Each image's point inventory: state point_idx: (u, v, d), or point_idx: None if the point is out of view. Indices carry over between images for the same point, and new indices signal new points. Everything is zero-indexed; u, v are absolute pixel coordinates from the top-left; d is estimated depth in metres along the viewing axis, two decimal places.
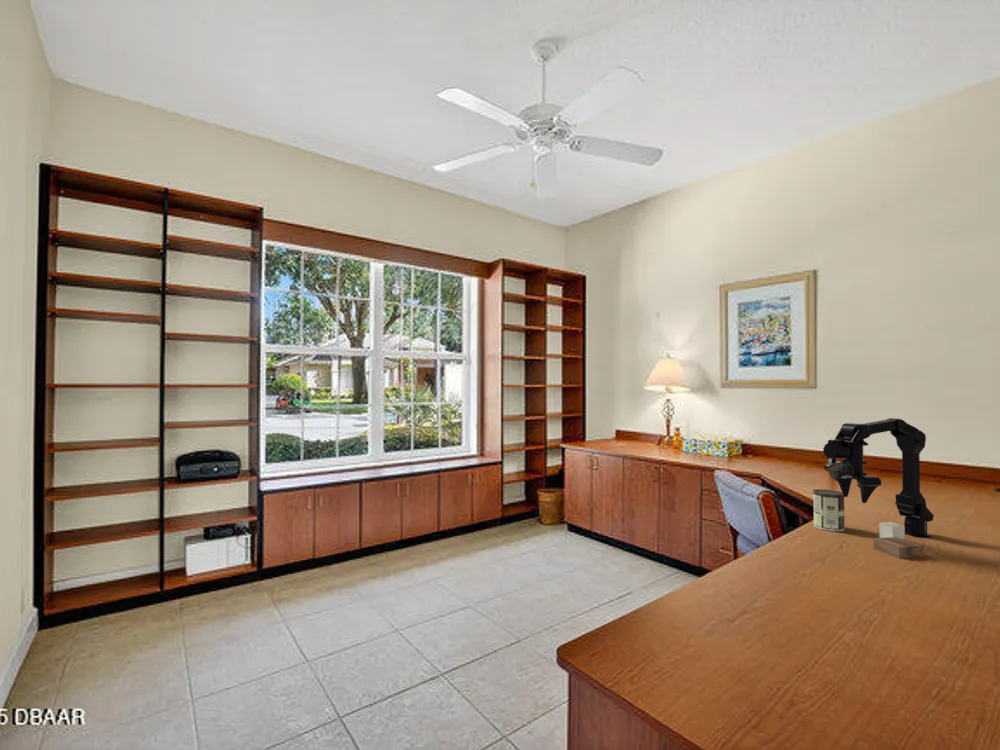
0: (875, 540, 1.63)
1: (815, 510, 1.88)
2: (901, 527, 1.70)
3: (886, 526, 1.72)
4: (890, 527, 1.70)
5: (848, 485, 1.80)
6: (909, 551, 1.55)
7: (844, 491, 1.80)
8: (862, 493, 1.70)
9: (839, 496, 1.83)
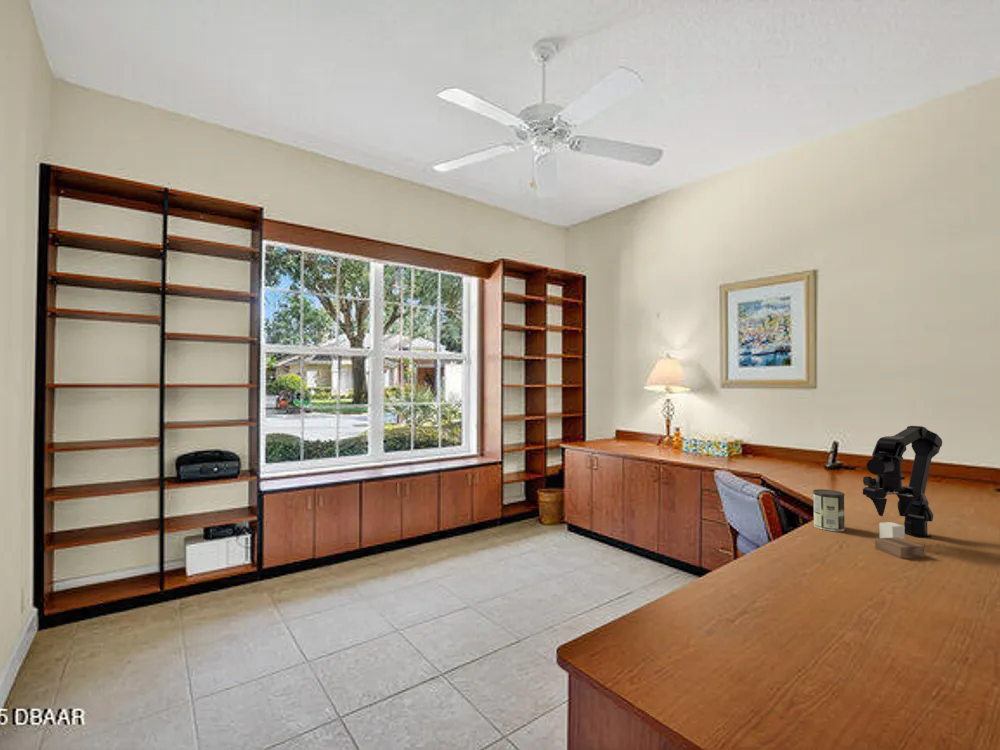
0: (876, 540, 1.63)
1: (815, 510, 1.88)
2: (901, 527, 1.70)
3: (886, 526, 1.72)
4: (890, 527, 1.70)
5: (906, 504, 1.72)
6: (911, 551, 1.55)
7: (901, 508, 1.73)
8: None
9: (839, 496, 1.83)
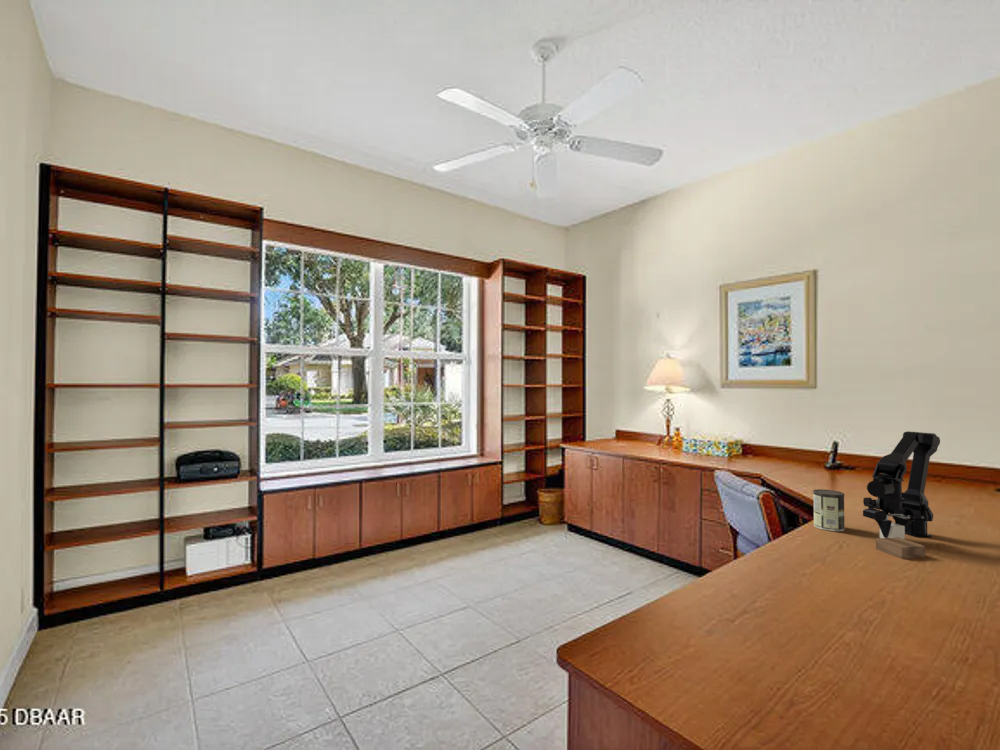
0: (877, 540, 1.63)
1: (815, 510, 1.88)
2: (901, 527, 1.70)
3: None
4: (890, 527, 1.70)
5: None
6: (912, 551, 1.55)
7: None
8: None
9: (839, 496, 1.83)
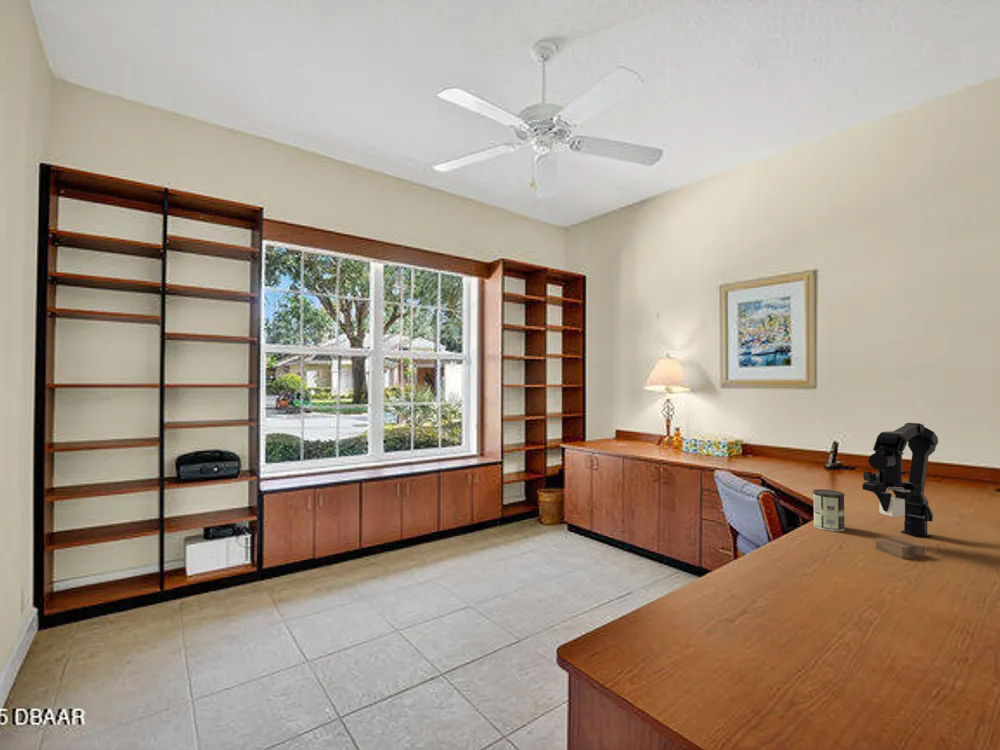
0: (877, 540, 1.62)
1: (815, 510, 1.88)
2: (901, 500, 1.68)
3: None
4: (890, 500, 1.68)
5: None
6: (912, 551, 1.55)
7: None
8: None
9: (839, 496, 1.83)
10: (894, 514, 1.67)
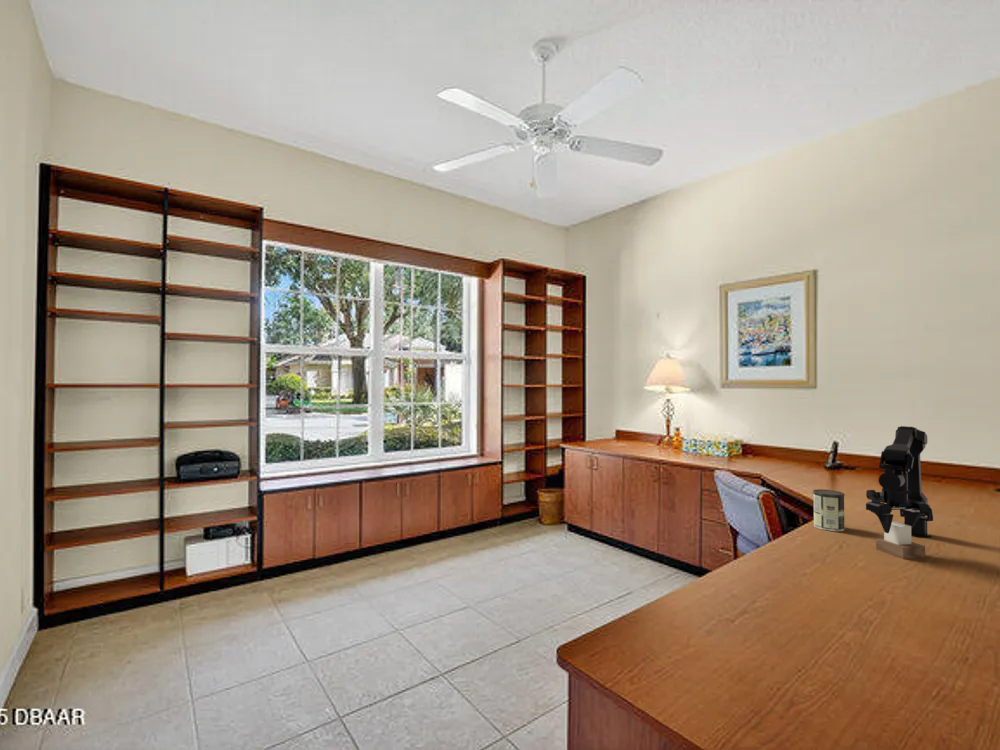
0: (877, 541, 1.62)
1: (815, 510, 1.88)
2: (907, 527, 1.58)
3: (891, 526, 1.59)
4: (896, 527, 1.58)
5: (911, 520, 1.59)
6: (913, 552, 1.55)
7: None
8: None
9: (839, 496, 1.83)
10: (900, 542, 1.57)
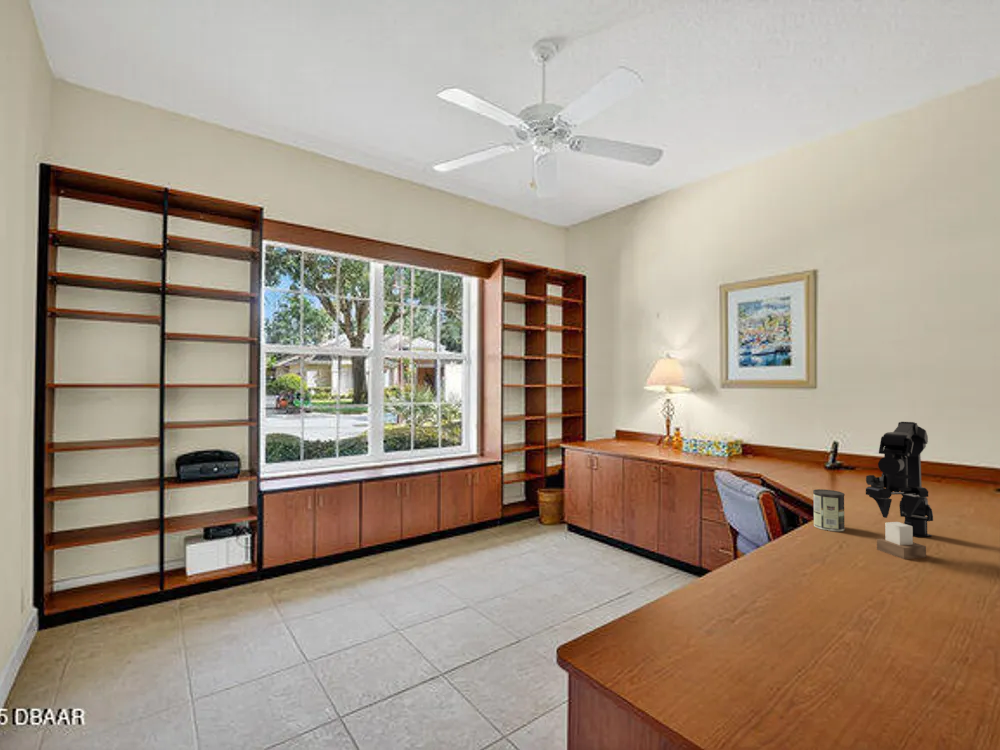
0: (878, 541, 1.62)
1: (815, 510, 1.88)
2: (909, 527, 1.57)
3: (893, 526, 1.59)
4: (897, 527, 1.57)
5: (912, 505, 1.60)
6: (913, 552, 1.55)
7: (906, 510, 1.61)
8: None
9: (839, 496, 1.83)
10: (901, 542, 1.57)
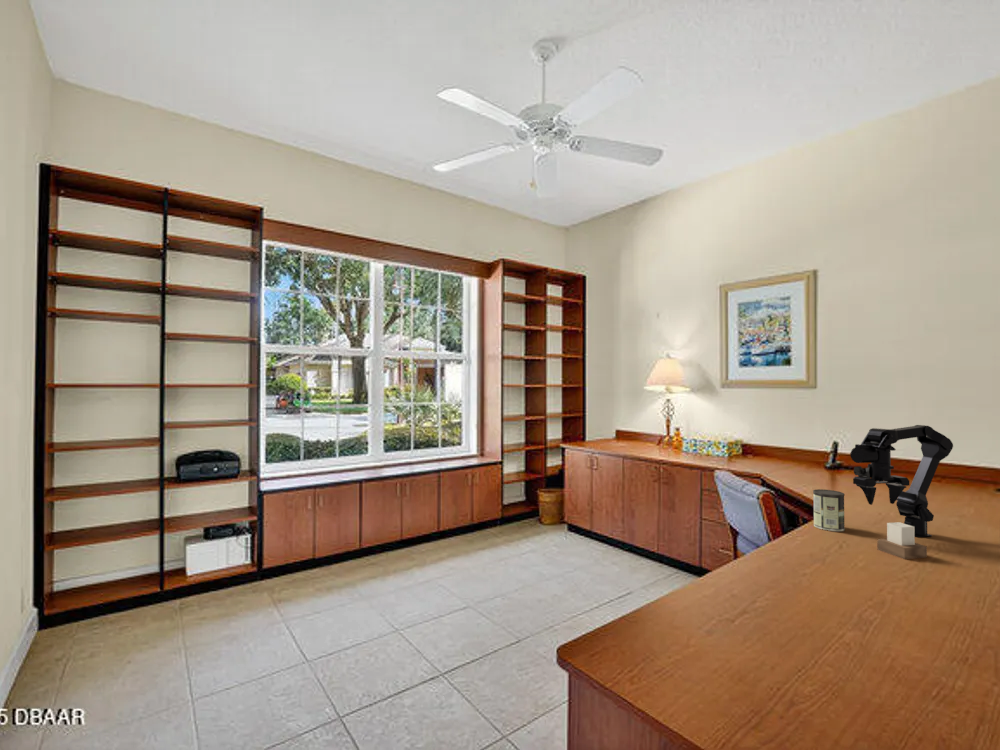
0: (879, 541, 1.62)
1: (815, 510, 1.88)
2: (911, 528, 1.57)
3: (894, 527, 1.59)
4: (899, 528, 1.57)
5: (895, 493, 1.77)
6: (914, 552, 1.55)
7: (890, 497, 1.78)
8: None
9: (839, 496, 1.83)
10: (903, 543, 1.56)
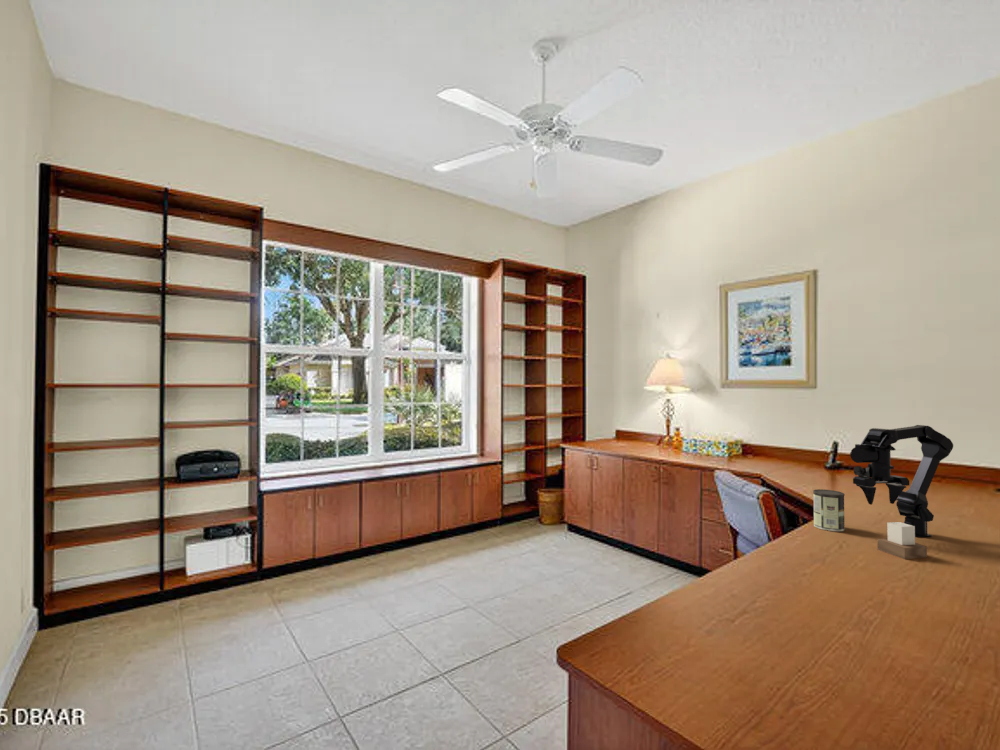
0: (879, 541, 1.62)
1: (815, 510, 1.88)
2: (911, 527, 1.57)
3: (895, 526, 1.59)
4: (899, 527, 1.57)
5: (895, 493, 1.77)
6: (914, 552, 1.55)
7: (890, 497, 1.78)
8: None
9: (839, 496, 1.83)
10: (904, 542, 1.57)
